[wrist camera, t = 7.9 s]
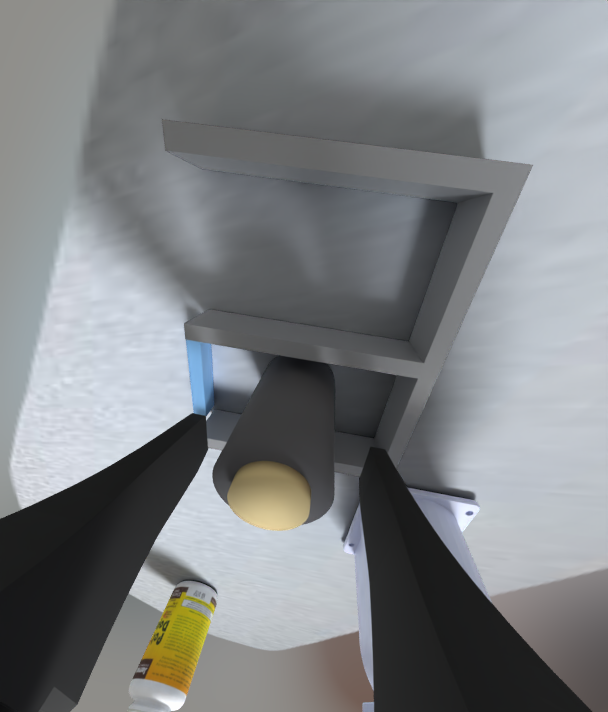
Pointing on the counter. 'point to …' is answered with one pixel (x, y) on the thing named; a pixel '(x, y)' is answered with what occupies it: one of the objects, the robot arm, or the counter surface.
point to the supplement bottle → (173, 650)
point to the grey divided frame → (402, 358)
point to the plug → (282, 448)
